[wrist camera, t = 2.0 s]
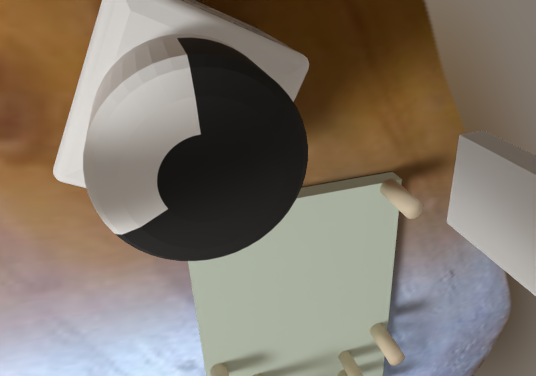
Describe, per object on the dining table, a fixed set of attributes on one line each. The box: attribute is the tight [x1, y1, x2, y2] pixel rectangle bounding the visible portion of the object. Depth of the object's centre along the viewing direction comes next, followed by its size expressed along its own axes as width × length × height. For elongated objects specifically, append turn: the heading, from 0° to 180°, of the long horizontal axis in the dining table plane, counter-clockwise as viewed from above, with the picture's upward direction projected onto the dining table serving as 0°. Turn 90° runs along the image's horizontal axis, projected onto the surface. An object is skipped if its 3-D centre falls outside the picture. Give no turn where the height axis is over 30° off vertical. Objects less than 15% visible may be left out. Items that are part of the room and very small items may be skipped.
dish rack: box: [188, 172, 423, 376], centre depth 31 cm, size 20×14×7 cm
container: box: [53, 0, 309, 261], centre depth 18 cm, size 8×8×13 cm
